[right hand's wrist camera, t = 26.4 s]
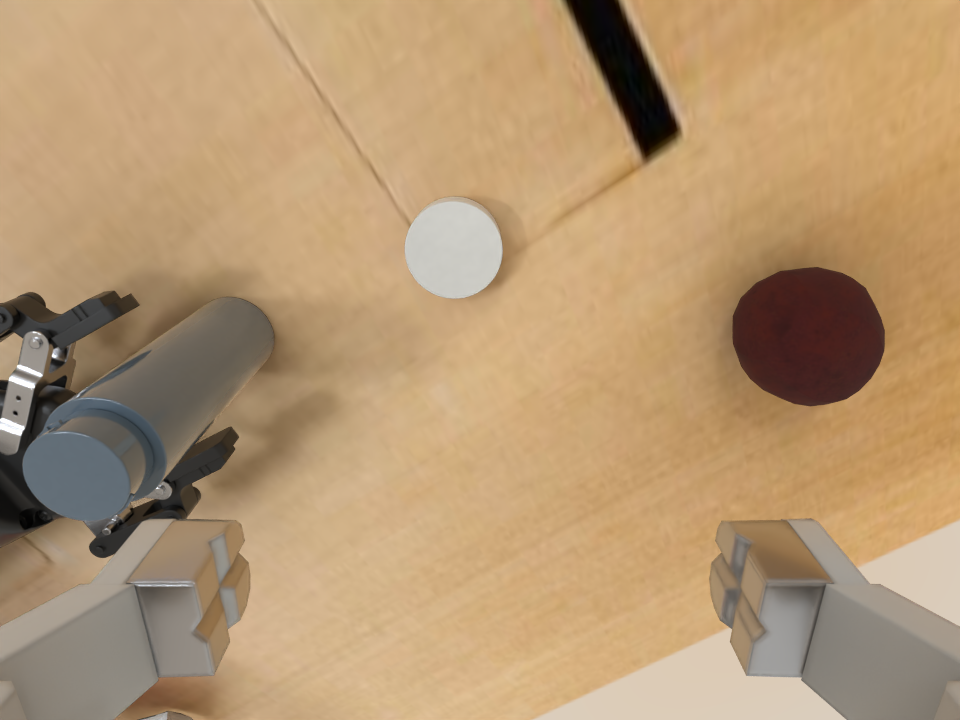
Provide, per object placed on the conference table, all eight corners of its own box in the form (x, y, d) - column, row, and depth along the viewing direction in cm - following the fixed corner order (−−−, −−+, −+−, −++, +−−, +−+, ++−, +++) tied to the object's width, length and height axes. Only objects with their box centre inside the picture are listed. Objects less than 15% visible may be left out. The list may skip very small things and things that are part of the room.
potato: (788, 392, 39) (851, 448, 32) (687, 337, 38) (731, 384, 31) (867, 292, 37) (952, 331, 30) (763, 230, 35) (827, 256, 29)
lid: (519, 231, 35) (522, 238, 34) (467, 305, 37) (466, 316, 35) (441, 177, 34) (439, 180, 32) (391, 255, 36) (386, 264, 34)
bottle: (181, 345, 38) (-10, 493, 23) (214, 281, 37) (33, 395, 22) (253, 385, 39) (114, 551, 24) (288, 324, 38) (163, 462, 23)
